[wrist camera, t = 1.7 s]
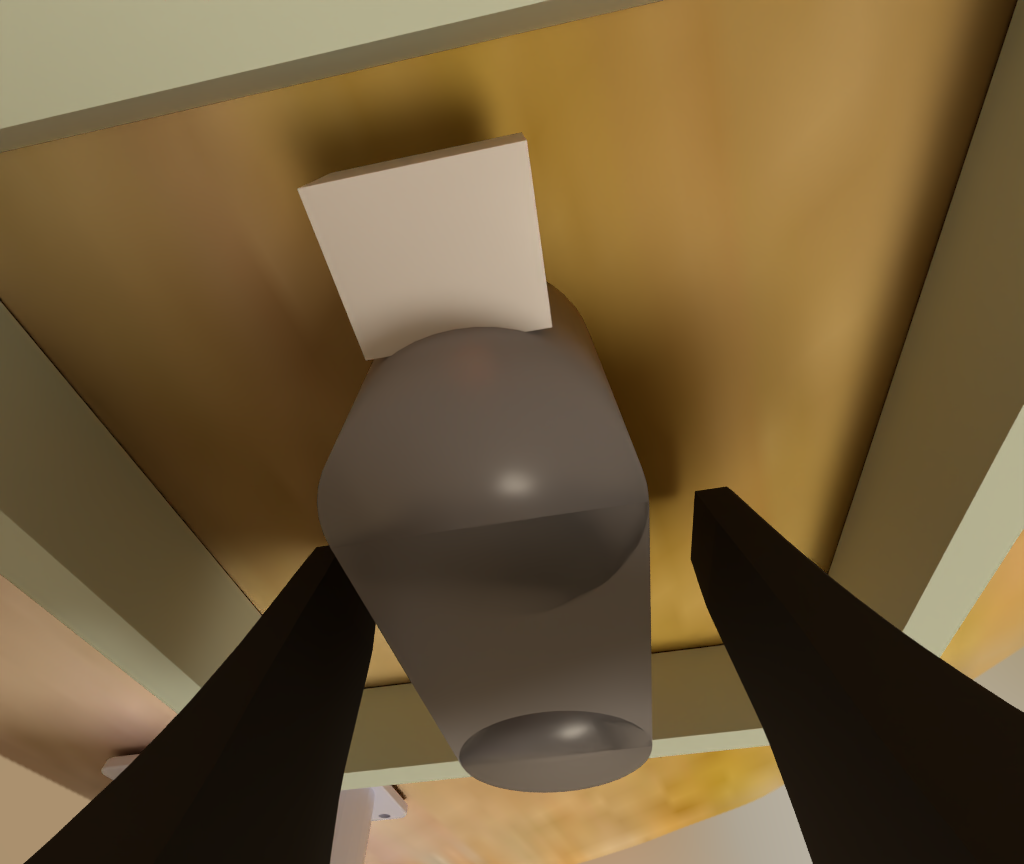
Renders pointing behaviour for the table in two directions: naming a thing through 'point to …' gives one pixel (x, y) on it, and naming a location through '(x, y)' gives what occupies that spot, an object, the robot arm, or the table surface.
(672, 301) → the table surface
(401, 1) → the sage frame
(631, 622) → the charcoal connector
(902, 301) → the table surface
